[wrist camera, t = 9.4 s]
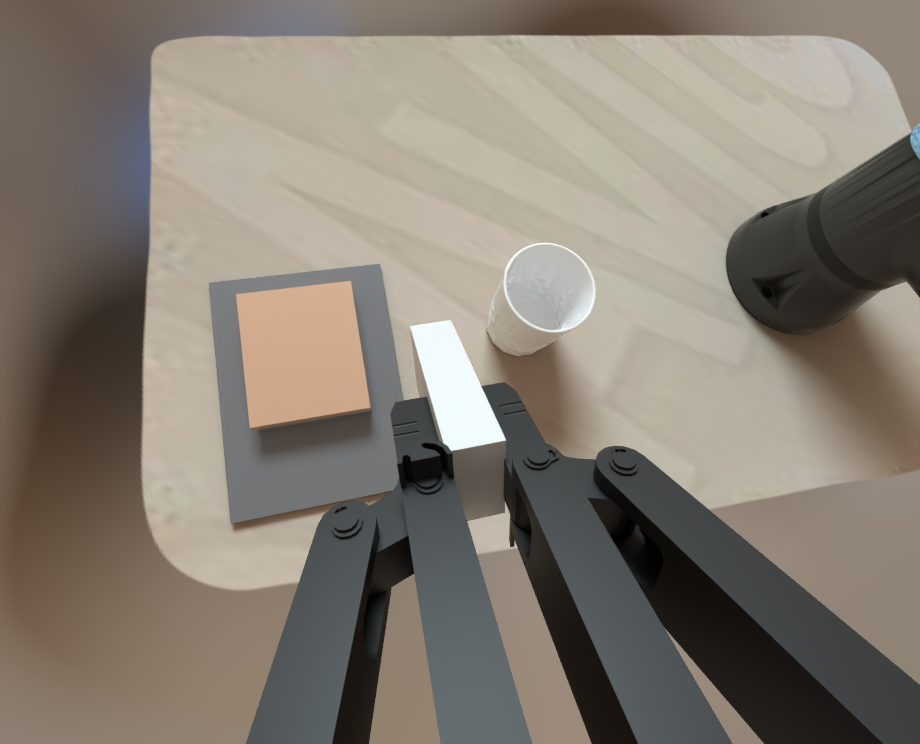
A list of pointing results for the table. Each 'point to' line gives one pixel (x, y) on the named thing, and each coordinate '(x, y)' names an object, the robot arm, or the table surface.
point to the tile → (302, 355)
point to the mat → (317, 442)
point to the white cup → (540, 299)
